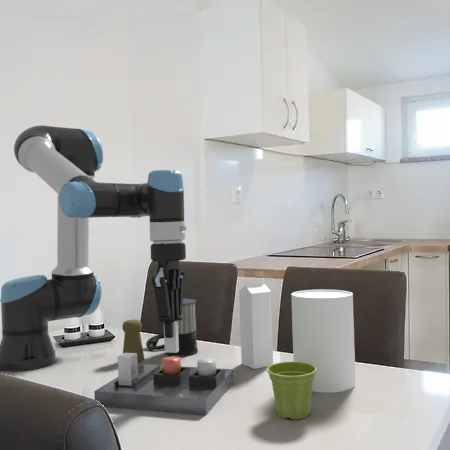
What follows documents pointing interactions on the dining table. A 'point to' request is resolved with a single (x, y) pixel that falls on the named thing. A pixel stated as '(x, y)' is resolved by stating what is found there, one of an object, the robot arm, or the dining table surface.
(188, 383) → the panel
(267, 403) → the dining table surface
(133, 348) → the cork
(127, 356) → the toggle
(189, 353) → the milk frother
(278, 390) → the plant pot
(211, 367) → the grey button
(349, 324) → the canister
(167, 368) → the button
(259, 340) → the milk
